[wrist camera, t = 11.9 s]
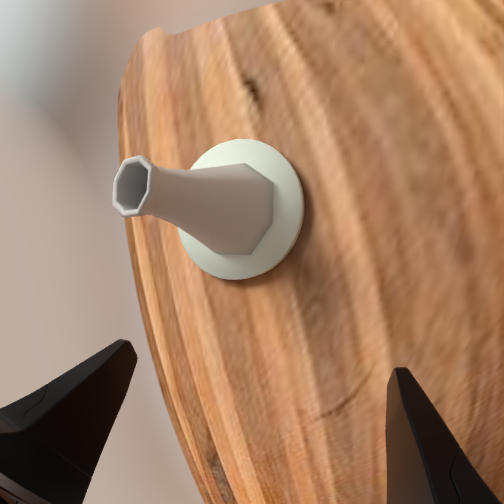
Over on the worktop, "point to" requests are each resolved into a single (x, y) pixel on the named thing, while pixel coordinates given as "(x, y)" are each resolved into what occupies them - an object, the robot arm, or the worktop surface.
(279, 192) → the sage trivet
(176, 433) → the worktop surface
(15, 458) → the robot arm
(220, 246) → the flask
